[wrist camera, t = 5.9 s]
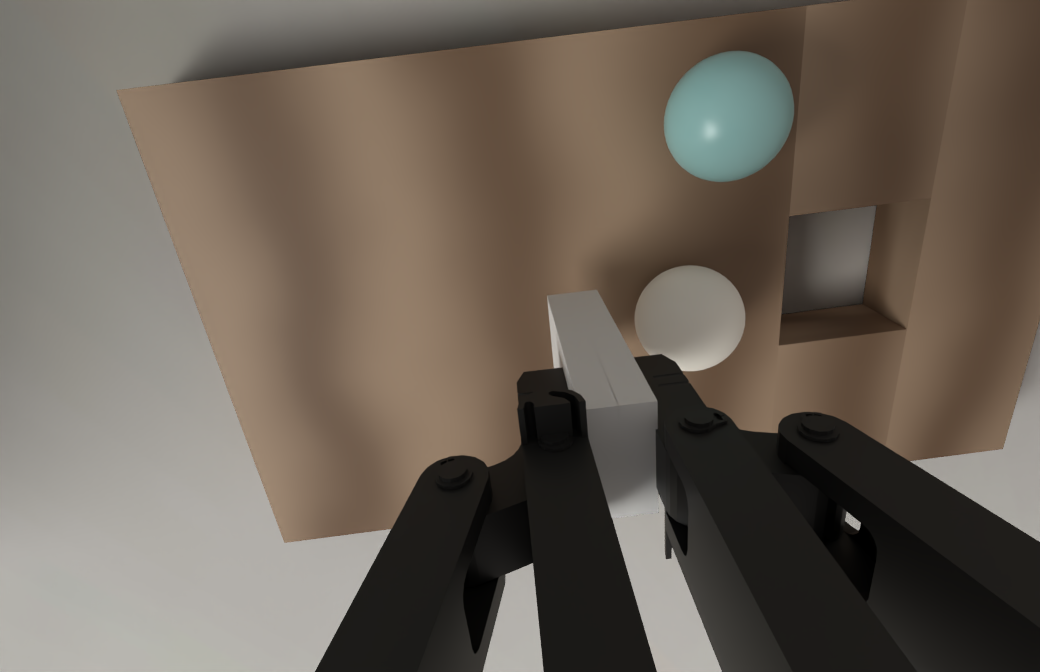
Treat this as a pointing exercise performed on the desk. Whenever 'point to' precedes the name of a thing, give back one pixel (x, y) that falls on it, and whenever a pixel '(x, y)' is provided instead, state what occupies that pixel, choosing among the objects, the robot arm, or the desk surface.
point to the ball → (690, 317)
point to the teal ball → (729, 116)
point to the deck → (599, 234)
